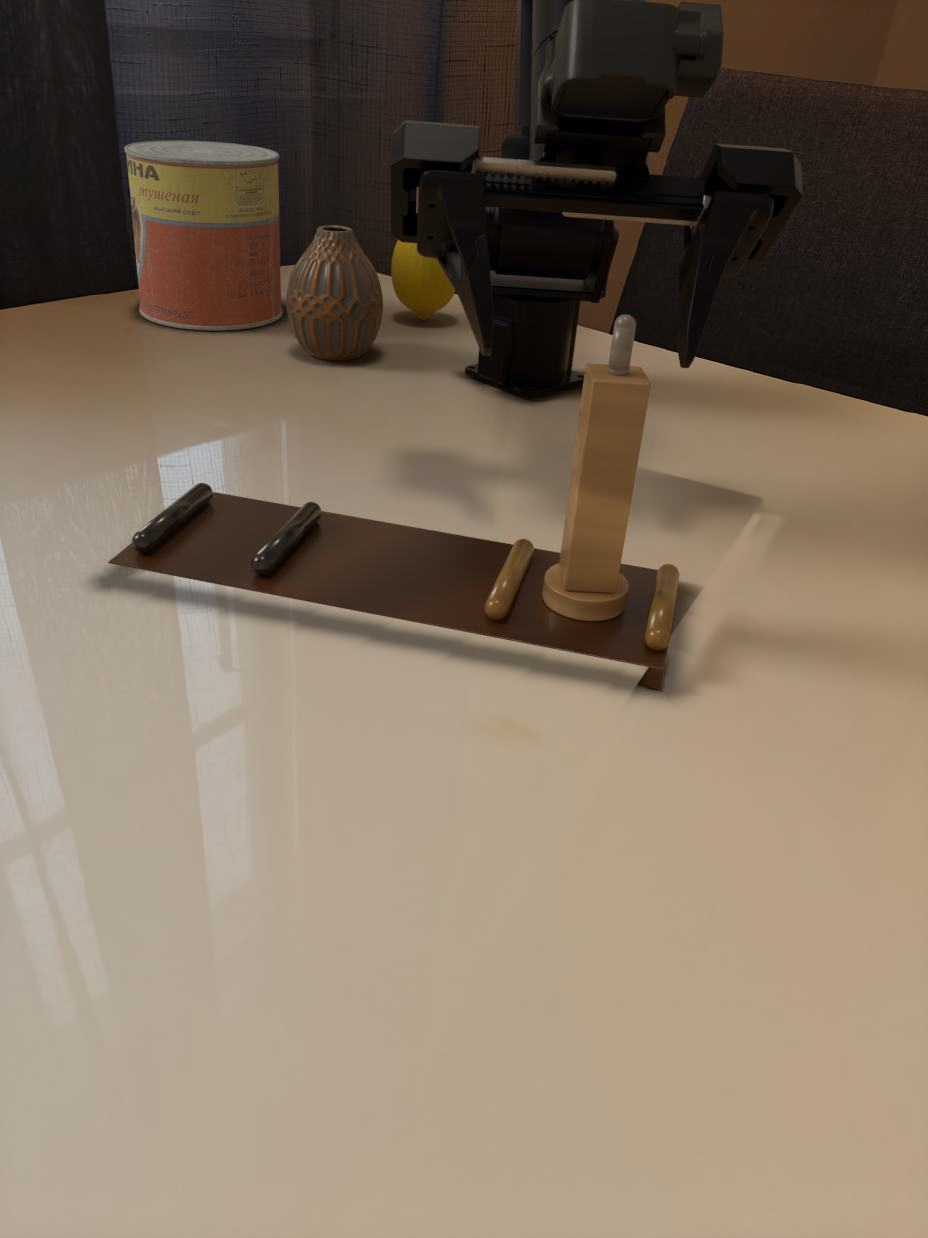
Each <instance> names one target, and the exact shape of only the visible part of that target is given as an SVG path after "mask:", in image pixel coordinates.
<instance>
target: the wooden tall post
mask: <svg viewBox="0 0 928 1238" xmlns="http://www.w3.org/2000/svg"><path fill="white" fill-rule="evenodd" d="M636 329H637V322H636V319H635V318H634V317H633V315H630V314H628V313H626V314H620V315H619V316H618V317H617V318H616V319H615V321H614V324H613V331H612V338H611V345H610V350H609V351H610V352H609V357H608V358H609V359H608V364H604V363H586V364H585V368H584V374H583V375H584V382H583V385H582V388H581V389H582V390H581V396H580V397H581V398H580V405H579V413H578V421H577V428H576V433H575V434H576V435H575V442H574V450H573V458H572V465H571V473H570V481H569V487H568V495H567V503H566V510H565V518H564V524H563V525H564V526H563V533H562V538H561V539H562V541H561V546H560V547H561V548H560V553H561V554H560V562H559V563H558V564H556V565H554V566H552V567H550V568H549V569H548V570H547V572H546V573H545V576H544V584H543V592H542V597H543V600H544V602H545V604H546V605H547V606H548V607H549V608H550V609H552V610H553V611H555V612H556V613H558V614H560V615H563V616H565V617H568V618H572V619H576V620H582V621H603V620H608V619H612V618H614V617H616V616H618V615H620V614H621V613H622V612H623V610H624V609H625V606H626V601H627V595H628V589H629V585H628V582H627V580H626V578H625V577H624V576H623V575H622V574H621V573H619V571H620V565H621V564H622V560H623V553H624V548H625V547H624V546H625V542H626V534H627V529H628V524H629V523H628V522H629V516H630V510H631V504H632V499H633V493H634V488H635V481H636V476H637V469H638V464H639V458H640V452H641V446H642V440H643V434H644V429H645V423H646V422H645V421H646V416H647V410H648V405H649V398H650V394H651V393H650V392H651V386H652V384H651V382H650V381H649V378H648V376H647V375H646V373H645V371H644V370H643V368H642V367H641V366H637V365H635V366H634V365H631V361H632V354H633V349H634V342H635V335H636Z"/></svg>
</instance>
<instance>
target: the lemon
mask: <svg viewBox="0 0 928 1238" xmlns="http://www.w3.org/2000/svg"><path fill="white" fill-rule="evenodd" d="M390 265H391V266H390V267H391V268H390V274H391V275H390V276H391V282H392V286H393V290H394V291H393V292H394V293H395V295H396V297H397V299H398V300H399V302H400V303H401V304H402V305H403V306H404V307H405V308H407V309H408V310H410V311H412V312H413V313H414V314H415V315H416V317H417V318H418V319H419V320H423V321H424V320H428V318H429V317H430V316H431V315H432V314H433V313H436V312H437V311H440V310H442V309H443V308H445V307H446V306H447V305H448V304H449V303H450V302H451V300H452V299H453V298H454V296H455V294H456V291H455V289H454V287H453V285H452V284H451V282H450V280H449V279H448V277H447V275H446V274H445V272H444V270H443V269H442V267H441V265H440V264H439V262H438V260H437V259H435V258H429V257H424V256H422V255H420V254H419V253H418V252H417V243H404V242H401V241H399V240H398V239H397V242H396V243H395V245H394V249H393V253H392V257H391V264H390Z"/></svg>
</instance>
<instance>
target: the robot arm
mask: <svg viewBox="0 0 928 1238" xmlns="http://www.w3.org/2000/svg"><path fill="white" fill-rule="evenodd" d="M513 1H514V2H515V3H516V4H515V5H516V7H515V8H516V9H515V12H516V14H515V15H516V16H515V58H514V59H515V63H514V64H515V65H514V112H513V113H514V114H513V115H514V117H513V120H514V121H513V134H512V133H508V134H507V135H506V137H505V139H504V140H503V141H502V143H501V147H500V155H499V156H498V157H494V156H484V155H483V156H482V155H480V143H481V142H480V138H481V136H480V135H481V128H480V125H477V124H476V125H475V124H462V123H449V122H436V121H425V120H424V121H423V120H410V119H409V120H408V119H405V120H404V122H402V123H401V124H400V125H399V126H398V127H397V129H396V130H394V132H392V135H391V149H390V150H391V151H390V168H389V169H390V235H391V236H392V237H393V238H395V239H397V241H398V240H399V241H401V242H404V243H417V252H418V253H419V254H420V255H422V256H424V257H429V258H435V259H437V260H438V262H439V264H440V265H441V267H442V269H443V270H444V272H445V274H446V275H447V277H448V279H449V280H450V282H451V284H452V285H453V287H454V289H455V293H456V294H457V296H458V299H459V301H460V303H461V305H462V308H463V311H464V313H465V315H466V319H467V321H468V324H469V326H470V328H471V331H472V333H473V337H474V338H475V341H476V343H477V347H478V357H477V363H473V364H470V365H469V364H468V365H466V366H465V367H464V374H465V375H467V376H470V377H472V378H474V379H476V380H479V381H482V382H484V383H487V384H489V385H492V386H494V387H496V388H499V389H501V390H504V391H507V392H509V393H512V394H514V395H516V396H519V397H521V398H526V399H527V398H534V397H539V396H542V395H547V394H551V393H554V392H559V391H563V390H566V389H571V388H575V387H579V386H583V382H584V375H585V374H583V373H581V372H577V371H574V370H573V362H574V356H575V355H574V354H575V348H576V340H577V332H578V325H579V316H580V307H581V302H590V303H592V304H600V300H601V299H604V298H606V293H607V286H608V280H609V274H610V270H611V266H612V263H613V259H614V256H615V253H616V250H617V245H618V242H619V238H620V231H619V229H618V228H617V227H616V225H615V221H620V222H623V221H624V222H636V223H649V224H661V225H662V224H664V225H678V226H683V249H684V250H685V251H686V252H685V254H684V256H683V258H682V260H681V262H680V264H679V266H678V267H679V268H678V289H677V291H678V293H677V294H678V295H677V296H678V297H677V327H676V328H677V329H676V330H677V331H676V349H677V354H678V360H679V367H680V368H681V369H690V367H691V366H692V363H694V360H695V358H696V355H697V352H698V350H699V347H700V343H701V341H702V337H703V334H704V331H705V328H706V326H707V322H708V319H709V316H710V313H711V311H712V307H713V304H714V301H715V298H716V295H717V292H718V289H719V286H720V283H721V280H722V278H732V277H735V276H738V275H739V274H740V273H741V271H742V269H743V267H751V266H754V265H756V264H758V263H761V262H764V261H765V259H766V257H767V256H768V254H769V252H771V249H772V247H773V246H774V244H775V243H776V241H777V239H778V238H779V236H780V234H781V233H782V231H783V230H784V228H785V226H786V224H787V223H788V221H789V220H790V218H791V216H792V215H793V213H794V211H795V210H796V209H797V206H799V204H800V202H801V200H802V198H803V196H804V193H803V175H802V174H803V173H802V172H803V171H802V164H801V163H800V161H799V159H798V156H796V154H795V152H794V151H791V150H790V149H787V148H782V147H768V146H757V145H756V146H755V145H743V144H742V145H741V144H730V143H728V144H727V143H715V142H714V144H713V146H712V149H711V151H710V152H709V156H708V158H707V160H706V162H705V164H704V166H703V169H702V170H701V173H700V176H699V177H693V176H682V175H681V176H680V175H669V174H668V175H667V174H652V173H650V171H651V170H650V153H657V154H659V153H660V151H661V148H662V146H663V143H664V140H665V138H666V133H667V132H666V131H667V129H666V128H667V127H666V106H667V104H668V102H669V101H670V100H672V99H674V98H675V97H685V98H695V99H696V98H699V99H704V97H705V96H707V94H708V93H709V91H710V90H711V88H712V87H713V85H714V84H715V83H716V81H717V80H718V79H719V76H720V72H721V69H722V63H723V52H724V40H725V38H724V37H725V35H724V20H723V11H722V5H721V4H717V3H707V2H692V1H681V2H680V3H679V4H678V5H677V6H675V5H674V4H671V3H665V2H656V1H648V0H513Z"/></svg>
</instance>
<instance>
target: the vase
mask: <svg viewBox="0 0 928 1238" xmlns="http://www.w3.org/2000/svg"><path fill="white" fill-rule="evenodd" d="M286 290H287V291H286V313H287V319H288V323H289V326H290V329H291V332H292V334H293V337H294V338H295V340H296V341H297V343H298V344H299V345H300V347H302V349H303V350H304V351H305V352H307V354H309V355H310V356H312V357H313V358H316V359H319V360H327V361H348V360H349V361H350V360H353V359H357V358H360V357H361V356H362V355H363V354H364V353H365V352H367V351H368V349H370V347H371V346H372V345H373V343H374V342H375V341H376V338H377V336H378V334H379V332H380V329H381V325H382V321H383V315H384V314H383V312H384V296H383V290H382V285H381V280H380V277H379V275H378V273H377V270H376V269H375V267H374V265H373V264H372V262H371V261H370V259H369V258H368V256H367V255H366V253H365V252H364V250H363V249H362V248H361V246H360V245H359V242H358V240H357V238H356V236H355V233H354V230H353V229H352V228H351V227H349V226H345V225H338V224H327V225H325V224H324V225H321V226H319V227H317V230H316V233H315V234H314V237H313V239H312V241H311V242H310V244H309V245H308V246H307V248H306V250H305V251H304V252H303V253H302V254H301V256H300V257H299V259H298V260H297V262H296V263H295V264H294V267H293V269H292V270H291V274H290V277H289V280H288V284H287V289H286Z"/></svg>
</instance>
